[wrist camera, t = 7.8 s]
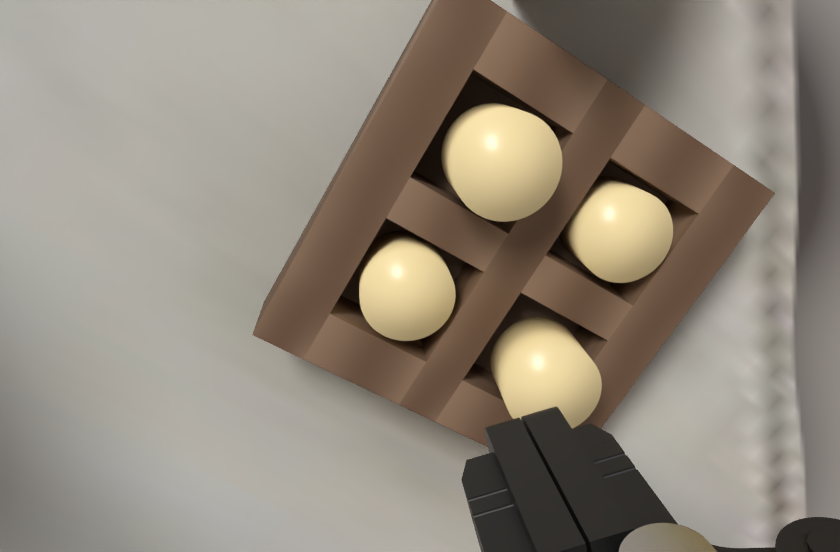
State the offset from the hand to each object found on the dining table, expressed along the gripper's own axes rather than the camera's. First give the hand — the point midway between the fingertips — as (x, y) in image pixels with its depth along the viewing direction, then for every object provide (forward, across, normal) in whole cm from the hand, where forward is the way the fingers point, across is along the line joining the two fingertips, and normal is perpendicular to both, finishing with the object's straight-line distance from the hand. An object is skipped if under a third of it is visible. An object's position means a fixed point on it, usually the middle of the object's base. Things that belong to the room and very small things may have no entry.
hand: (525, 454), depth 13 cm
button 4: (+19, -9, +2) cm, 21 cm away
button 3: (+16, -4, -3) cm, 17 cm away
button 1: (+19, +1, +2) cm, 19 cm away
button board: (+20, -4, +2) cm, 21 cm away
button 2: (+16, -4, +7) cm, 18 cm away
